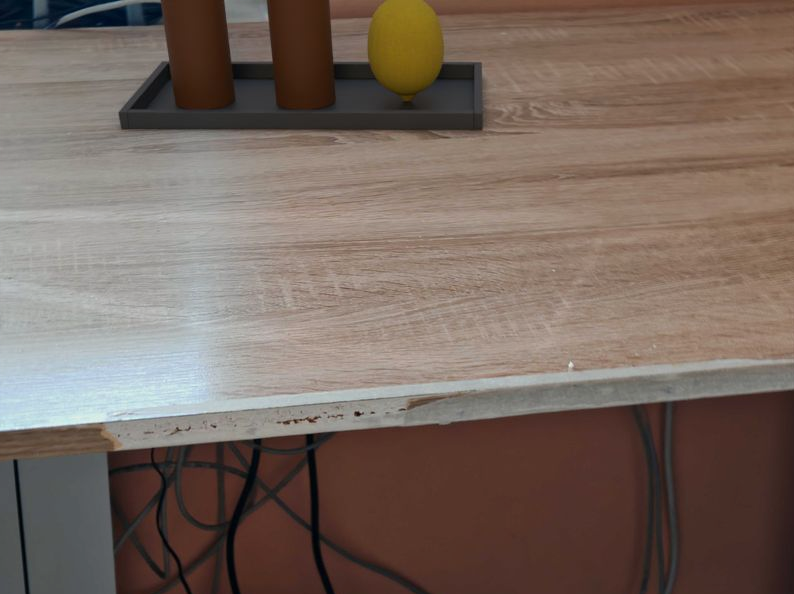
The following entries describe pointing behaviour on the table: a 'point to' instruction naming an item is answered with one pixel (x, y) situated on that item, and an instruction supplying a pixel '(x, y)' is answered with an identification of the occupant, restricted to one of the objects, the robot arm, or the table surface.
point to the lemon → (405, 47)
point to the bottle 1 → (199, 53)
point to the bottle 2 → (302, 53)
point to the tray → (352, 110)
